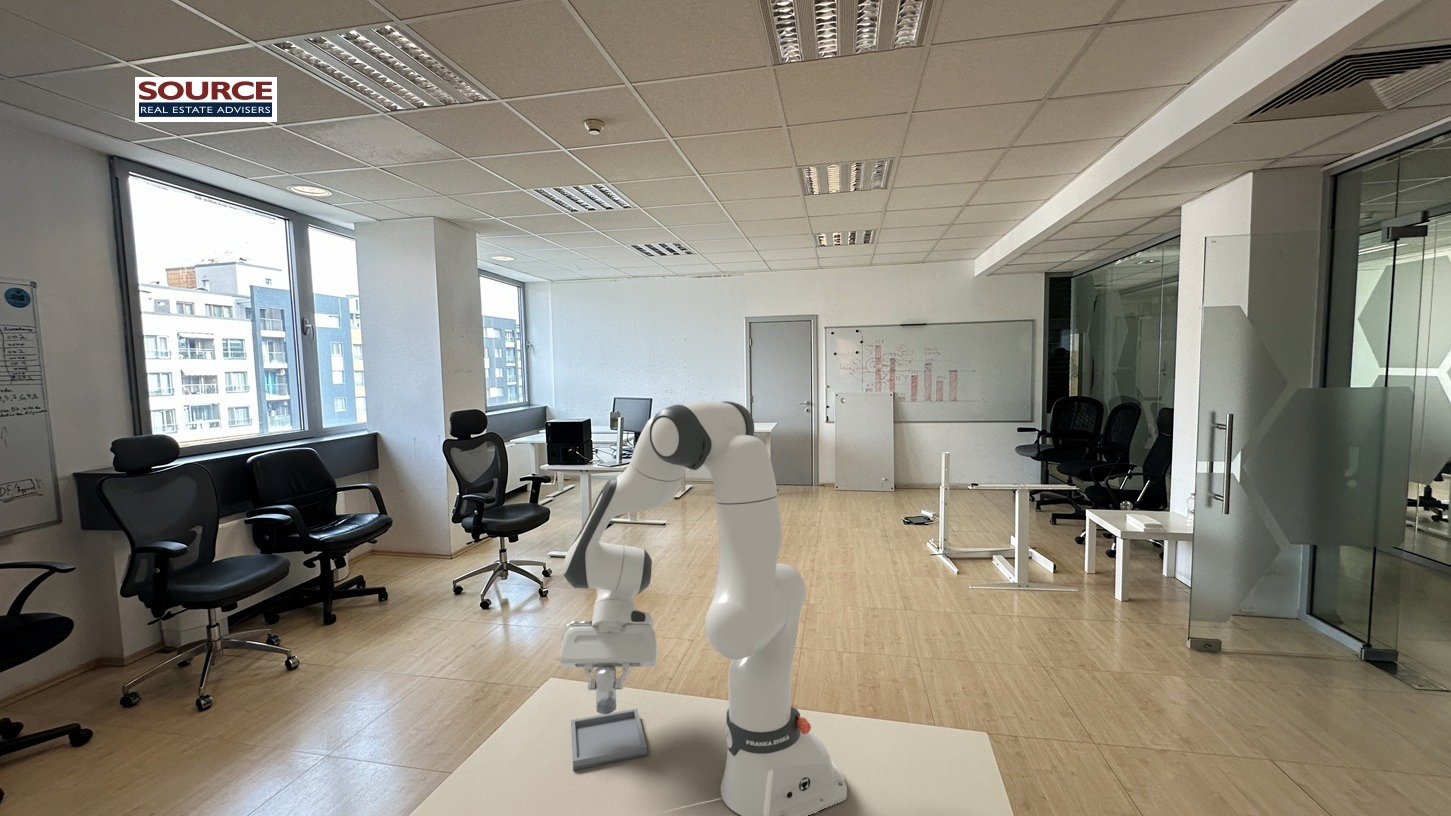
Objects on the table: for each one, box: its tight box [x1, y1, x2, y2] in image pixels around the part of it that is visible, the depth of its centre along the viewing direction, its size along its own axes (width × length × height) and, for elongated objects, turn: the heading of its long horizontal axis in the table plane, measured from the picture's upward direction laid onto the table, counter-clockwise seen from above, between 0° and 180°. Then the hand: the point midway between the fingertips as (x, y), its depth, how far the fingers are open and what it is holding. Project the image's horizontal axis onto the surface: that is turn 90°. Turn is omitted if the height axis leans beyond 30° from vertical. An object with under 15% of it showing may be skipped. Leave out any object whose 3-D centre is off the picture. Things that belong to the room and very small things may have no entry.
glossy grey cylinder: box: [595, 665, 617, 715], centre depth 116 cm, size 4×4×8 cm
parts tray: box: [570, 708, 648, 771], centre depth 117 cm, size 14×14×2 cm
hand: (605, 689), depth 116 cm, fingers closed on glossy grey cylinder, 4 cm apart
